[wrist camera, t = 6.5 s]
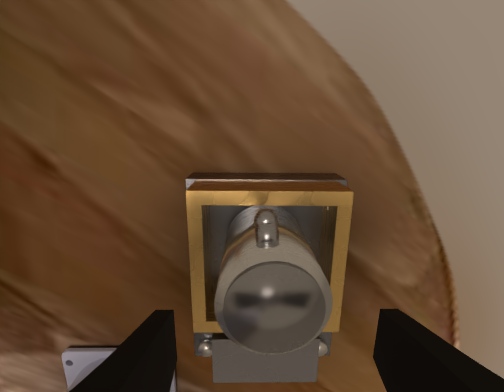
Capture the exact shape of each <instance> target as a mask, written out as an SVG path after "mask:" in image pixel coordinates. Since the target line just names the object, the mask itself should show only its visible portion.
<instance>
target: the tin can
mask: <svg viewBox="0 0 504 392" xmlns="http://www.w3.org/2000/svg"><path fill="white" fill-rule="evenodd" d="M332 305H333V298H332V292H331V288H330V285H329V283H328V281H327V279H326V277H325V275H324V273H323V271H322V269H321V267H320V265H319V263H318V261H317V259H316V257H315V255H314V253H313V251H312V249H311V247H310V245H309V244H308V242H307V240H306V238H305V236H304V234H303V232H302V230H301V228H300V226H299V224H298V222H297V221H296V219H295V218H294V217H293V216H292V215H291V214H290V213H289V212H288V211H286V210H284V209H283V208H280V207H278V206H270V205H255V206H252V207H249V208H247V209H245V210H243V211H242V212H240V213H239V214H238V215H237V216H236V217H235V218H234V219H233V221H232V222H231V224H230V226H229V228H228V231H227V235H226V241H225V246H224V251H223V257H222V262H221V267H220V273H219V278H218V284H217V289H216V294H215V302H214V308H215V315H216V319H217V321H218V324H219V326H220V328H221V329H222V331H223V332H224V333H225V335H226V336H227V337H228V338H229V339H230V340H231V341H233V342H234V343H235V344H237V345H238V346H240V347H242V348H244V349H246V350H248V351H251V352H255V353H259V354H268V355H276V354H284V353H288V352H292V351H295V350H298V349H300V348H302V347H304V346H306V345H307V344H309V343H310V342H312V341H313V340H314V339H315V338H316V337H317V336H318V335H319V334H320V333H321V332H322V331H323V329H324V328H325V327H326V325H327V323H328V321H329V318H330V316H331V312H332Z"/></svg>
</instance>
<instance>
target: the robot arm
mask: <svg viewBox="0 0 504 392" xmlns="http://www.w3.org/2000/svg"><path fill="white" fill-rule="evenodd" d="M373 358H374V361H375V363H376V366H377V369H378V371H379V374H380V376H381V379H382V381H383V384H384V386H385V388H386V391H387V392H504V379H503V378H501V377H500V376H498V375H497V374H495V373H493V372H492V371H490V370H488V369H487V368H485V367H484V366H482V365H481V364H479V363H477V362H476V361H475V360H473V359H471V358H470V357H468V356H467V355H465V354H464V353H462V352H461V351H459V350H458V349H456V348H455V347H453V346H452V345H451V344H449V343H448V342H446V341H445V340H443V339H442V338H440V337H439V336H437V335H436V334H434V333H433V332H432V331H430V330H429V329H427V328H426V327H424V326H423V325H421V324H420V323H418V322H417V321H416V320H414V319H413V318H411V317H410V316H408V315H407V314H405V313H403V312H402V311H400V310H398V309H380V313H379V320H378V327H377V333H376V340H375V347H374V354H373ZM176 361H177V351H176V338H175V324H174V311H173V310H155V311H154V312H153V313H152V314H151V315H150V316H149V317H148V318H147V319H146V320H145V321H144V322H143V323H142V324H141V325H140V326H139V327H138V328H137V329H136V330H135V331H134V332H133V333H132V334H131V335H130V336H129V337H128V338H127V339H126V340H125V341H124V342H123V343H122V344H121V345H120V346H119V347H118V348H67V349H66V350H65V351H64V352H63V353H62V362H63V366H64V371H65V376H66V381H67V386H68V390H67V392H176V380H175V366H176Z"/></svg>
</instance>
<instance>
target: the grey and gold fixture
mask: <svg viewBox="0 0 504 392" xmlns="http://www.w3.org/2000/svg"><path fill="white" fill-rule="evenodd" d="M346 185H347V180H346V179H344V178H342V177H341V176H339V175H337V174H304V173H192V174H191V175H190V176H189V177H187V178H186V203H187V222H188V240H189V258H190V277H191V295H192V313H193V332H194V343H195V356H203V357H209V356H212V364H213V383H240V382H316V381H317V370H318V358H319V356H323V355H329V354H330V344H331V334H332V332H339V325H340V316H341V306H342V297H343V288H344V278H345V269H346V260H347V251H348V241H349V232H350V223H351V214H352V204H353V195H354V191H352V190H351V189H349V188H347V187H346ZM255 205H270V206H278V207H280V208H283V209H284V210H286V211H288V212H289V213H290V214H291V215H292V216H293V217H294V218H295V219H296V221H297V222H298V224H299V226H300V228H301V230H302V232H303V234H304V236H305V238H306V240H307V242H308V244H309V245H310V247H311V249H312V251H313V253H314V255H315V257H316V259H317V261H318V263H319V265H320V267H321V269H322V271H323V273H324V275H325V277H326V279H327V281H328V283H329V285H330V288H331V292H332V298H333V305H332V312H331V316H330V318H329V321H328V323H327V325H326V327H325V328H324V329H323V331H322V332H321V333H320V334H319V335H318V336H317V337H316V338H315V339H314V340H313V341H312V342H310V343H309V344H307V345H306V346H304V347H302V348H300V349H298V350H295V351H292V352H288V353H284V354H276V355H268V354H259V353H255V352H251V351H248V350H246V349H244V348H242V347H240V346H238V345H237V344H235V343H234V342H233V341H231V340H230V339H229V338H228V337H227V336H226V335H225V333H224V332H223V331H222V329H221V328H220V326H219V324H218V321H217V319H216V315H215V308H214V302H215V294H216V289H217V284H218V278H219V273H220V267H221V262H222V257H223V251H224V246H225V241H226V235H227V231H228V228H229V226H230V224H231V222H232V221H233V219H234V218H235V217H236V216H237V215H238V214H239V213H240V212H242V211H243V210H245V209H247V208H249V207H252V206H255Z"/></svg>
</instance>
